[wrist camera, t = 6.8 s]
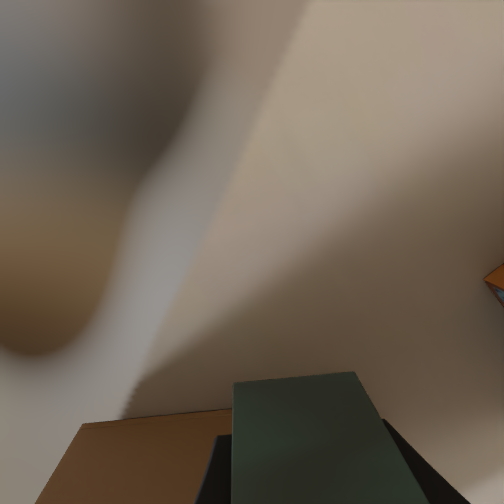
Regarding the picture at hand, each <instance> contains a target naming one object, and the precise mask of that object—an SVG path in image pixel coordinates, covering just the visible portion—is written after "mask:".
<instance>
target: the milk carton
mask: <svg viewBox="0 0 504 504" xmlns="http://www.w3.org/2000/svg"><path fill="white" fill-rule="evenodd" d="M483 280H484V281H485V283H486V284H487V285H488V287H489V288H490V289H491V291H492V292H493V293H494V295H495V296H496V298H497V299H498V300H499V302H500V303H501V304H502V306H503V307H504V264H502V265H501V266H500V267H499V268H497V269H496V270H495V271H493V272H492V273H491V274H489V275H488V276H487V277H485V278H484V279H483Z"/></svg>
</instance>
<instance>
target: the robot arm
mask: <svg viewBox="0 0 504 504" xmlns="http://www.w3.org/2000/svg"><path fill="white" fill-rule="evenodd" d="M382 421H383V423H384V424H385V426H386V428H387V430H388V431H389V433H390V435H391V437H392V438H393V440H394V442H395V444H396V445H397V447H398V449H399V451H400V452H401V454H402V456H403V458H404V459H405V461H406V463H407V465H408V466H409V468H410V470H411V472H412V473H413V475H414V477H415V479H416V480H417V482H418V484H419V486H420V487H421V489H422V491H423V493H424V494H425V496H426V498H427V500H428V501H429V503H430V504H470V503H469V502H468V501H467V500H466V499H465V498H464V497H463V496H462V495H461V494H460V493H459V492H458V491H457V490H455V489H454V488H453V487H452V486H451V485H450V484H449V483H448V482H447V481H446V480H445V479H444V478H443V477H442V476H441V475H440V474H439V473H438V472H437V471H436V470H435V469H434V468H433V467H432V466H431V465H429V464H428V463H427V462H426V461H425V460H424V459H423V458H422V457H421V456H420V455H419V454H418V452H417V451H416V450H415V449H414V448H413V447H412V446H411V445H410V444H409V443H408V442H407V441H406V440H405V439H404V438H403V437H402V436H401V435H400V434H399V433H398V432H397V431H396V430H395V429H394V428H393V427H392V426H391V425H390V424H389V423H388V422H387V421H386V420H385V419H382ZM231 465H232V434H227V435H217V436H216V437H215V439H214V442H213V446H212V450H211V454H210V457H209V461H208V464H207V467H206V470H205V473H204V476H203V479H202V482H201V485H200V488H199V490H198V493H197V496H196V498H195V501H194V504H231Z"/></svg>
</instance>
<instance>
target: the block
mask: <svg viewBox="0 0 504 504" xmlns="http://www.w3.org/2000/svg"><path fill="white" fill-rule="evenodd" d="M231 504H430V503H429V501H428V500H427V498H426V496H425V494H424V493H423V491H422V489H421V487H420V486H419V484H418V482H417V480H416V479H415V477H414V475H413V473H412V472H411V470H410V468H409V466H408V465H407V463H406V461H405V459H404V458H403V456H402V454H401V452H400V451H399V449H398V447H397V445H396V444H395V442H394V440H393V438H392V437H391V435H390V433H389V431H388V430H387V428H386V426H385V424H384V423H383V421H382V419H381V417H380V416H379V414H378V412H377V410H376V409H375V407H374V405H373V403H372V402H371V400H370V398H369V396H368V395H367V393H366V391H365V389H364V388H363V386H362V384H361V382H360V380H359V379H358V377H357V375H356V373H355V372H353V371H352V372H342V373H331V374H321V375H310V376H300V377H289V378H279V379H269V380H258V381H248V382H237V383H234V384H233V409H232V465H231Z"/></svg>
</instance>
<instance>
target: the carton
mask: <svg viewBox="0 0 504 504" xmlns="http://www.w3.org/2000/svg"><path fill="white" fill-rule="evenodd" d="M227 434H232V409H226V410H216V411H206V412H196V413H186V414H176V415H166V416H155V417H145V418H135V419H125V420H115V421H105V422H95V423H85V424H82V426H81V427H80V429H79V431H78V432H77V434H76V436H75V437H74V439H73V441H72V442H71V444H70V446H69V447H68V449H67V451H66V452H65V454H64V456H63V457H62V459H61V461H60V463H59V464H58V466H57V467H56V469H55V471H54V472H53V474H52V476H51V477H50V479H49V481H48V482H47V484H46V486H45V488H44V489H43V491H42V492H41V494H40V496H39V497H38V499H37V501H36V503H35V504H194V501H195V498H196V496H197V493H198V490H199V488H200V485H201V482H202V479H203V476H204V473H205V470H206V467H207V464H208V461H209V457H210V454H211V450H212V446H213V442H214V439H215V437H216V436H217V435H227Z"/></svg>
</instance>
